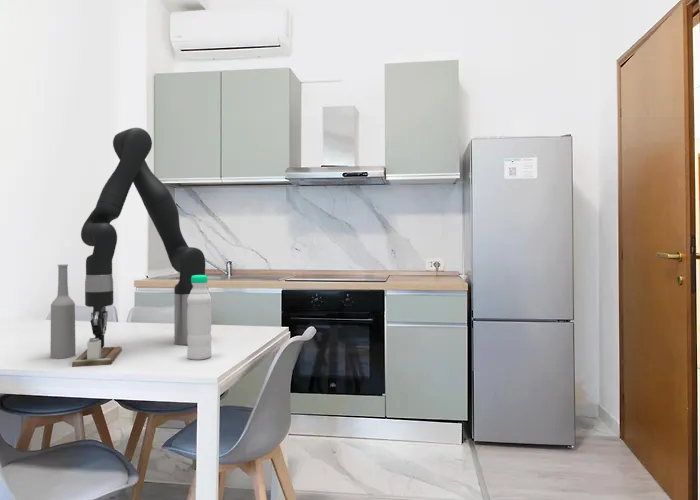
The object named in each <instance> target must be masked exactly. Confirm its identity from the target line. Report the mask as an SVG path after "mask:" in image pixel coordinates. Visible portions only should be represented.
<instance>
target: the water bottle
mask: <svg viewBox="0 0 700 500" xmlns="http://www.w3.org/2000/svg"><path fill="white" fill-rule="evenodd" d="M208 281H209V278H208V276H207V275H206V274H205V275H193V276H192V277H191V283H192V285H193V288H192V290H191V291H190V294H189V296H188V298H187V303H188V309H187V329H188V336H187V344H188V345H187V347H186V348H187V351H186V352H187V353H186V355H187V356H186V357H187V358H188V359H189V360H192V361H193V360H194V361H199V360H200V361H201V360H206V359H209V358H210V357H212V334H211V333H212V332H211V331H212V296H211V295H210V293H209V290H208V288H207V284H208Z"/></svg>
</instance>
